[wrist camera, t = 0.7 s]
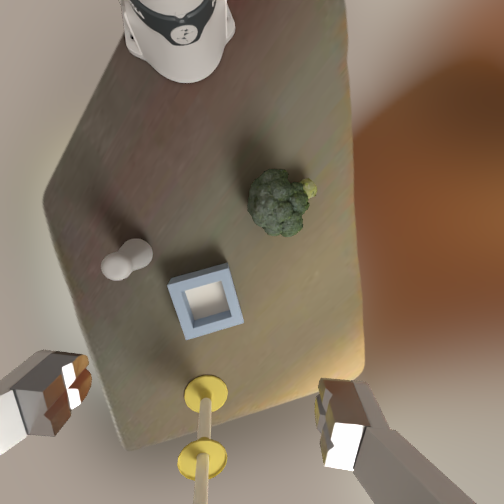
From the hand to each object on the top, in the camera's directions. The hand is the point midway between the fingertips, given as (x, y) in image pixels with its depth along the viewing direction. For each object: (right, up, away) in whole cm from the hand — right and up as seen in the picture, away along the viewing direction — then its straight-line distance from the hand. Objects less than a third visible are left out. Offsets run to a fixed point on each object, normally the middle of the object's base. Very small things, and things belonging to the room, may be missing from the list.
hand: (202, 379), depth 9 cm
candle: (-9, -29, +49) cm, 58 cm away
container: (-8, -5, +44) cm, 45 cm away
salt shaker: (-20, +5, +41) cm, 46 cm away
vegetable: (+7, +15, +43) cm, 46 cm away
